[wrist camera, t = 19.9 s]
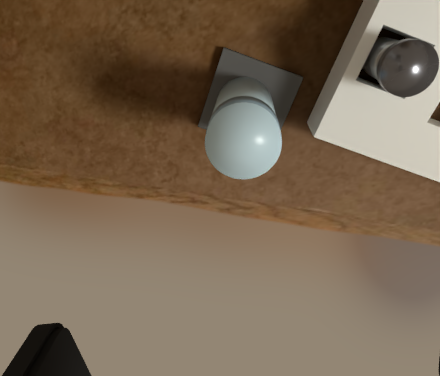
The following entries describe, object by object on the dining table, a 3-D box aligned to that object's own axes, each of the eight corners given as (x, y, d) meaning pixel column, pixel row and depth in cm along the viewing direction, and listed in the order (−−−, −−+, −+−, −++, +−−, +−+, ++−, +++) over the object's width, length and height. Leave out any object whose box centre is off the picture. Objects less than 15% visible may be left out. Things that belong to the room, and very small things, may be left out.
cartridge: (210, 82, 32) (196, 113, 23) (268, 71, 31) (276, 98, 22) (222, 137, 34) (213, 185, 25) (276, 127, 33) (287, 173, 24)
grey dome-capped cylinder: (349, 71, 31) (370, 86, 25) (371, 26, 29) (399, 31, 24) (389, 86, 31) (419, 104, 26) (413, 42, 29) (450, 51, 24)
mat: (198, 124, 34) (197, 126, 34) (224, 47, 31) (223, 47, 31) (270, 150, 35) (270, 152, 34) (302, 76, 32) (303, 77, 31)
